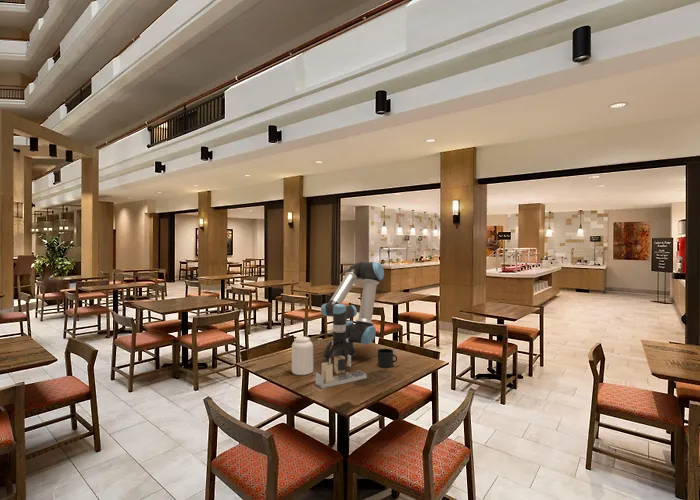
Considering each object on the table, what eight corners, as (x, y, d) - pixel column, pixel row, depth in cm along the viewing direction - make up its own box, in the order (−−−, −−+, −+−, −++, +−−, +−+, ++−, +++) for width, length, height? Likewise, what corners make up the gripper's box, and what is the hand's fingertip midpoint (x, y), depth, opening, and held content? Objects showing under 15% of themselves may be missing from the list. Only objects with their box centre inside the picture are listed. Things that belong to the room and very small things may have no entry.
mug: (395, 369, 222) (395, 353, 222) (376, 367, 226) (376, 352, 226) (398, 364, 231) (398, 349, 231) (379, 362, 235) (379, 348, 235)
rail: (315, 384, 198) (315, 363, 198) (359, 374, 213) (359, 355, 212) (321, 388, 192) (321, 367, 192) (366, 378, 207) (366, 358, 206)
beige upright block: (341, 370, 220) (341, 355, 219) (345, 372, 216) (345, 357, 216) (334, 372, 217) (334, 356, 217) (338, 374, 213) (337, 358, 213)
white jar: (295, 376, 209) (295, 341, 209) (288, 370, 220) (288, 336, 220) (316, 373, 215) (316, 338, 215) (308, 367, 226) (308, 334, 226)
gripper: (323, 334, 207) (322, 373, 207) (360, 330, 219) (360, 366, 219) (317, 332, 213) (316, 369, 213) (354, 327, 226) (354, 362, 226)
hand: (339, 367), depth 216 cm, fingers open, 13 cm apart
